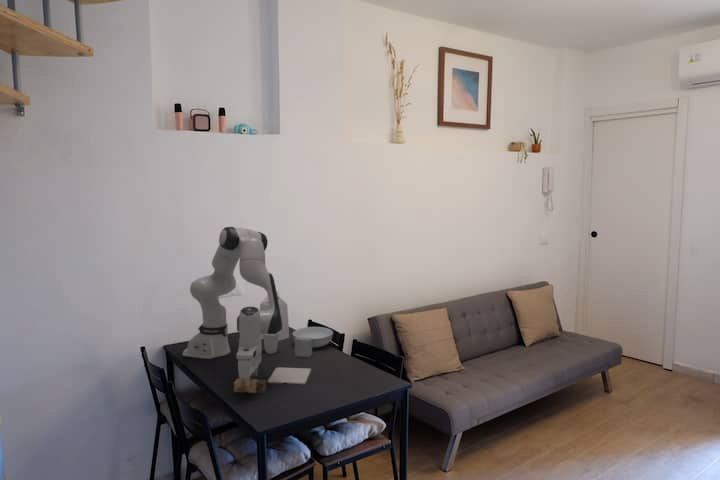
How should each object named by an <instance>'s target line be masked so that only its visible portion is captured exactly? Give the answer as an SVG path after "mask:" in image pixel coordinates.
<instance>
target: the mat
mask: <svg viewBox="0 0 720 480" xmlns="http://www.w3.org/2000/svg"><path fill="white" fill-rule="evenodd" d="M311 371H312V368H307V367H306V368H305V367H304V368H302V367H301V368H300V367H276V368H275V369H274V370H273V372H272V374H271V375H270V377H268V379H267V380H266V384H283V383H287V385H288V384H290V385H306V383H307V381H308V378H309V377H310V374H311Z"/></svg>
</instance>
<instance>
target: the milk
mask: <svg viewBox="0 0 720 480" xmlns="http://www.w3.org/2000/svg"><path fill="white" fill-rule="evenodd" d="M276 292H277V297H278V302H279V309H280V312H281V314H282V318H283V327H282V329H281V330H280V331H279V332H280V333H279V338H278V342H279V341H282V340H287V339H289V338H290V328H289V327H290V326H289V312H288V309H289V308H288V304H287V303H286V302H285V300H283V299H282V298H281V297H280V295H279V294H280V293H279V291H277V290H276ZM269 309H270V305H269V299H268V294H267V295H266V297H264V299H263V300H261V303H260V304H259V311H265V310H269ZM260 336H261V340H264V338H263V334H260ZM286 338H287V339H286Z"/></svg>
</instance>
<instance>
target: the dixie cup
mask: <svg viewBox="0 0 720 480" xmlns="http://www.w3.org/2000/svg"><path fill="white" fill-rule="evenodd" d="M279 333H280V332H278V333H277V334H263V338H264V339H263V343H264V351H265V354H276V353H277V352H278V343H279V341H278V338H279Z"/></svg>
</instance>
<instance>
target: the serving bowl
mask: <svg viewBox="0 0 720 480" xmlns="http://www.w3.org/2000/svg"><path fill="white" fill-rule="evenodd" d="M333 336H334V332H333V330H332V329H330V328H328V327H323V326H307V327H301V328H299V329H298V328H297V329H296V330H294V331H293V332H292V338H293V341H294V340H295V339H296V337H309V338H312V349H315V348H321V347H324V346H326V345H327V344H329V343H330V342H331V341H332V338H333Z"/></svg>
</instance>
